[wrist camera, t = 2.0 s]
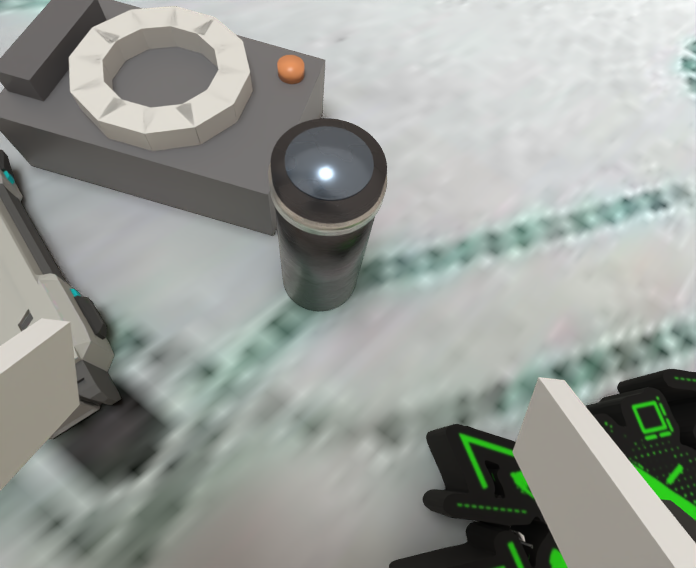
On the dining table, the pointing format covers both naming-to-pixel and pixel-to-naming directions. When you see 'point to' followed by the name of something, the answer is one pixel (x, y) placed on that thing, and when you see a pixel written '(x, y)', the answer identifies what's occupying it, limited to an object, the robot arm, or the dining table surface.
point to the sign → (515, 495)
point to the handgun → (49, 301)
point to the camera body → (156, 105)
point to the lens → (325, 207)
